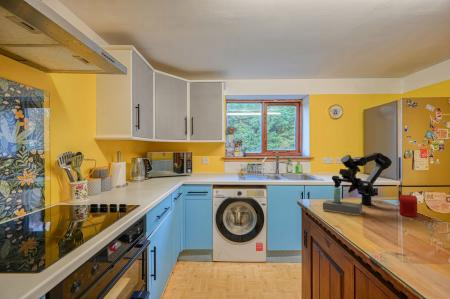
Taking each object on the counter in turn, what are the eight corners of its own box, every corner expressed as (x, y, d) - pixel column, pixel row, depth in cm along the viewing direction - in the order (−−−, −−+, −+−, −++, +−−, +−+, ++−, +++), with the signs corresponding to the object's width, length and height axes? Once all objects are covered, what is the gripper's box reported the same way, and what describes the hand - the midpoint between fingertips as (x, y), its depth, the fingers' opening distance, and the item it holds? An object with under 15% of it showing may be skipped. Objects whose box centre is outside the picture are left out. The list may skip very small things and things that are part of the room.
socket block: (327, 206, 154) (327, 199, 154) (362, 211, 141) (362, 204, 141) (322, 209, 146) (322, 202, 146) (359, 215, 134) (359, 207, 133)
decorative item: (398, 209, 145) (398, 193, 145) (417, 212, 139) (417, 195, 139) (397, 215, 133) (397, 197, 133) (417, 218, 128) (417, 199, 128)
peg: (338, 208, 148) (337, 187, 148) (341, 209, 144) (341, 188, 144) (332, 208, 148) (332, 187, 148) (336, 209, 144) (335, 188, 144)
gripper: (332, 163, 159) (322, 181, 153) (360, 165, 143) (350, 185, 137) (340, 174, 163) (330, 192, 157) (368, 177, 147) (358, 196, 141)
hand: (341, 191), depth 148 cm, fingers open, 9 cm apart
